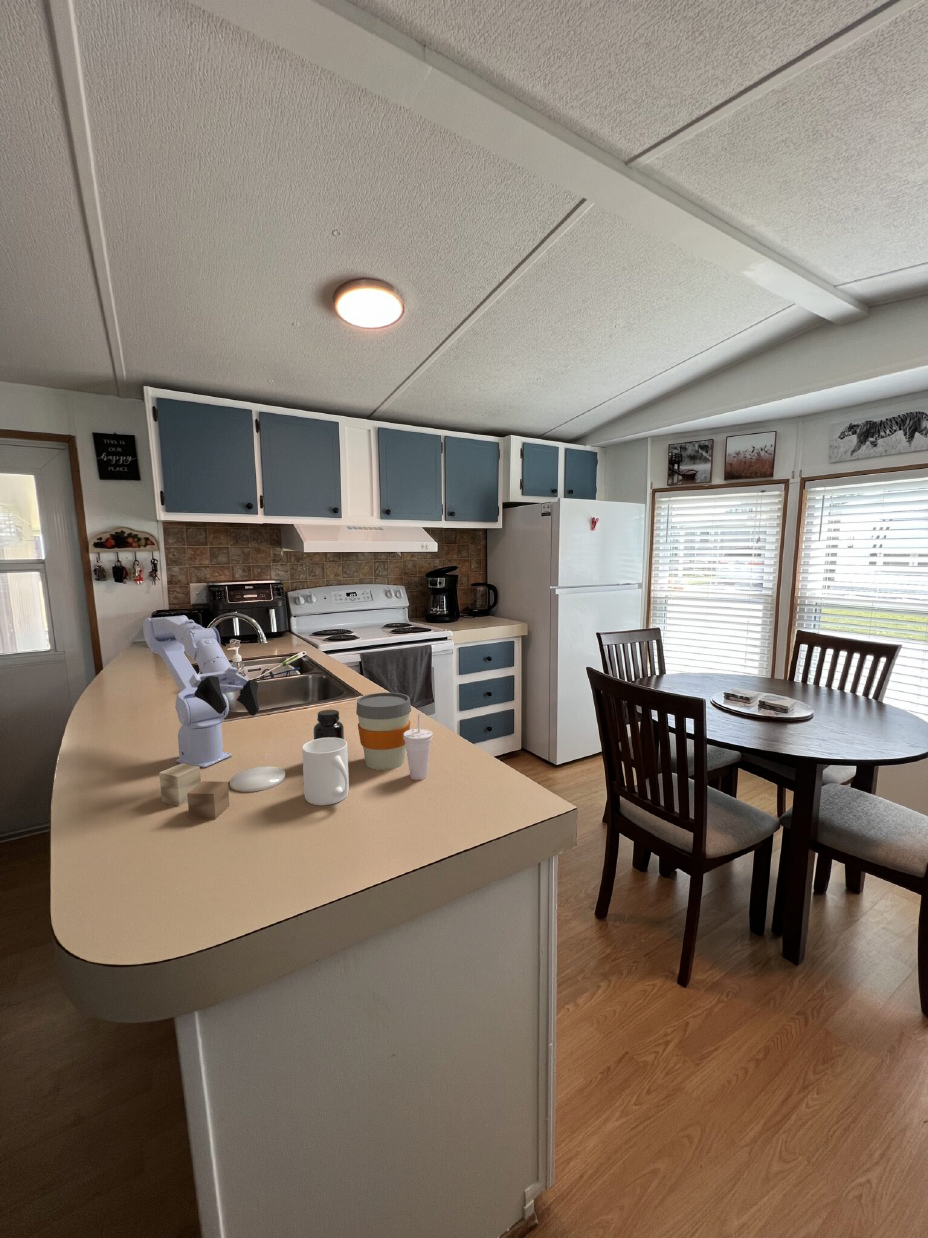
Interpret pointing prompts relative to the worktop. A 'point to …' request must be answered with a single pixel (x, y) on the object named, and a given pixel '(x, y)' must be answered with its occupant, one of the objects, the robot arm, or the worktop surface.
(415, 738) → the smoothie
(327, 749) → the mug
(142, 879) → the worktop surface
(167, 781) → the beech block
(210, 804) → the walnut block
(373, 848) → the worktop surface
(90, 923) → the worktop surface
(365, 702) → the reusable coffee cup
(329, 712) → the supplement bottle
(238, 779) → the coaster
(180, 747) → the robot arm
